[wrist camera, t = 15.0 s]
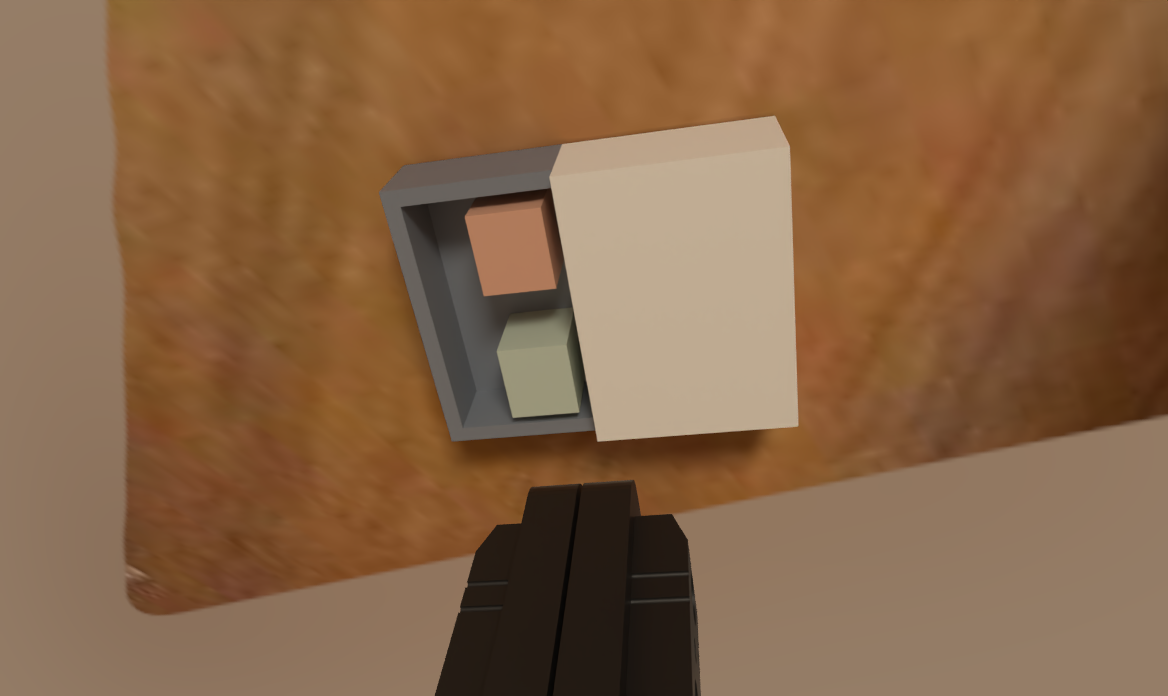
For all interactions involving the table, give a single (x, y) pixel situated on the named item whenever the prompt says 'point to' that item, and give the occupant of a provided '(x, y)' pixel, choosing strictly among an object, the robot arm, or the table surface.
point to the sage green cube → (542, 363)
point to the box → (469, 288)
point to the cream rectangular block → (682, 277)
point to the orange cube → (516, 241)
